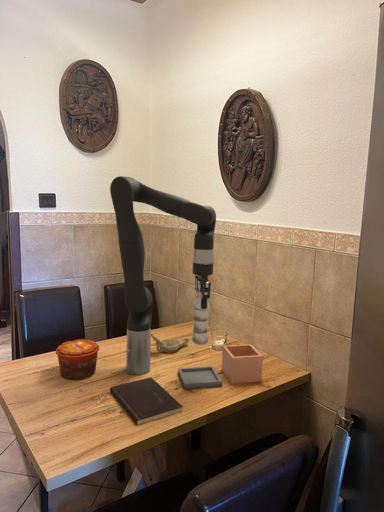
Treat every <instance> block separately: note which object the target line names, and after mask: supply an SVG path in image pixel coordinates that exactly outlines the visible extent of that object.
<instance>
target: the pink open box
mask: <svg viewBox="0 0 384 512" xmlns="http://www.w3.org/2000/svg"><path fill="white" fill-rule="evenodd" d="M221 357H222V359H221V370H222V372H223V374H224V375H225V377H226V378H227V380H228V381H229V382H230V384H232V385H233V384H244V383H253V382H254V383H255V382H262V381H263V380H262V378H263V376H262V375H263V363H264V358H263V357H264V356H263V354H261V352H259V351H258V350H257V348H255V347H254V346H253V344H250V343H249V344H233V345H232V344H231V345H222V354H221Z"/></svg>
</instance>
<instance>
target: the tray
mask: <svg viewBox="0 0 384 512" xmlns="http://www.w3.org/2000/svg"><path fill="white" fill-rule="evenodd" d="M177 369H178V370H177V374H178V376H179V379H180V382H181V384H182V386H183V389H184V390H195V389H206V388H207V389H208V388H217V387H218V388H219V387H223V379H222V378H221V376H220V375H219V374H218V372H217V370H216V368H215V367H214V366H213V365H208V366H195V367H194V366H193V367H180V368H177Z"/></svg>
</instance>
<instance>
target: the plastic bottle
mask: <svg viewBox="0 0 384 512" xmlns="http://www.w3.org/2000/svg"><path fill="white" fill-rule="evenodd" d="M205 295H206V293H205ZM196 296H197V299H195V300H194V301H193V303H192V312H193V329H192V332H191V341H192V343H193V344H194V345H198V346H199V345H200V346H202V345H206V344H207V343H208V342H209V338H210V337H209V336H210V334H209V315H210V310H211V309H210V308H211V304H210V301H209V299H207V309H201V293H200V292H199V291H197V293H196Z"/></svg>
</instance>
